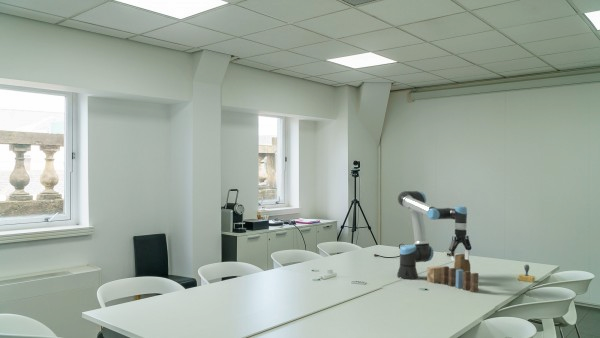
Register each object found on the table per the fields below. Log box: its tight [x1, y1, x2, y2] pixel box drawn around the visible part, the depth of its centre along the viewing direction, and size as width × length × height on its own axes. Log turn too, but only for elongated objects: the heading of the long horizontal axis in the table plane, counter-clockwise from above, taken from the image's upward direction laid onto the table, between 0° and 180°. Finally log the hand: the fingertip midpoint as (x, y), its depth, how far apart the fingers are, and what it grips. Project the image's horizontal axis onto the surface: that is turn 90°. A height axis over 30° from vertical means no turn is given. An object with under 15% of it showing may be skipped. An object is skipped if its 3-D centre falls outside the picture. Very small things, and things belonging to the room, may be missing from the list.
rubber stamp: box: [517, 264, 536, 283], centre depth 340 cm, size 10×6×12 cm, turn 52°
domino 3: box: [455, 269, 463, 289], centre depth 314 cm, size 2×5×12 cm, turn 122°
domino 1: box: [441, 265, 450, 285], centre depth 324 cm, size 2×5×12 cm, turn 122°
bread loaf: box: [453, 253, 471, 272], centre depth 330 cm, size 11×8×20 cm
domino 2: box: [447, 267, 456, 287], centre depth 319 cm, size 2×5×12 cm, turn 122°
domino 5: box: [469, 272, 479, 293], centre depth 304 cm, size 2×5×12 cm, turn 122°
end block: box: [426, 265, 443, 284], centre depth 331 cm, size 6×12×10 cm, turn 122°
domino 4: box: [462, 270, 471, 291], centre depth 309 cm, size 2×5×12 cm, turn 122°
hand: (460, 260), depth 314 cm, fingers open, 13 cm apart
